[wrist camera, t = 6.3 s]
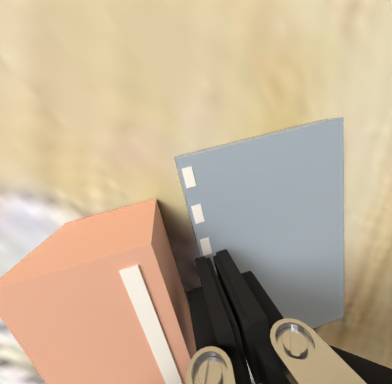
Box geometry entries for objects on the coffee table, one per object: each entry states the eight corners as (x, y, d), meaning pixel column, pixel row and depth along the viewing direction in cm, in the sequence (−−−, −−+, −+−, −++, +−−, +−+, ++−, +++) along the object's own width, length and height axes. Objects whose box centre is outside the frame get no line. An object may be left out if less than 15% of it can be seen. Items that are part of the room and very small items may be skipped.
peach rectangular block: (156, 198, 11) (150, 245, 6) (189, 306, 13) (204, 402, 8) (65, 223, 10) (-20, 295, 6) (116, 330, 13) (87, 448, 8)
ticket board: (320, 120, 11) (344, 117, 10) (327, 300, 15) (344, 318, 14) (174, 157, 11) (176, 159, 9) (221, 338, 15) (228, 360, 13)
